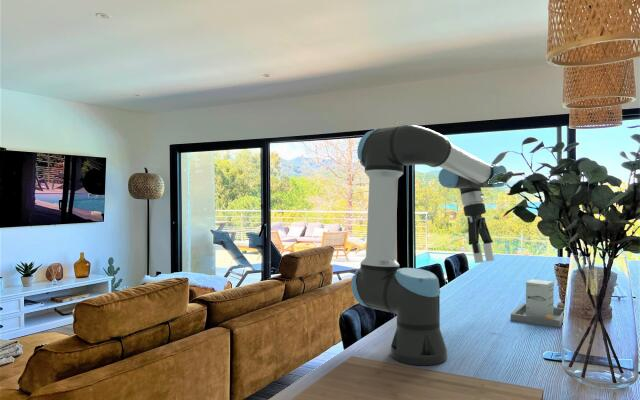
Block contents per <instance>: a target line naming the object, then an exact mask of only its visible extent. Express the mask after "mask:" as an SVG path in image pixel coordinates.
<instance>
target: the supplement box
mask: <svg viewBox="0 0 640 400" xmlns="http://www.w3.org/2000/svg"><path fill="white" fill-rule="evenodd" d="M554 283H555V282H554V281H549V280H543V279H542V280H541V279H533V278H532V279H531V278H530V279H529V280H527V281H526V282H525V304H526V315H528V316H535V317H542V318H545V316H546V315H548V314H550V315H552V316H553V308H554V307H555V306H554V299H555V298H554V296H555V295H554V285H555V284H554Z"/></svg>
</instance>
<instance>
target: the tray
mask: <svg viewBox="0 0 640 400" xmlns="http://www.w3.org/2000/svg"><path fill="white" fill-rule="evenodd" d="M563 313H564V307H556V306H554V308H553V317H554V319H550V318H542V317H535V316H528V315H526V303H522V304H521V305H519V306H518V307H517V308H516V309H514V311H512V312H511V313H510V321H513V322H518V323H526V324H531V325H539V326H544V327H545V326H547V327H551V328H552V327H553V328H561V326H562V325H563V324H562V321H563Z"/></svg>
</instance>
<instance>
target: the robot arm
mask: <svg viewBox="0 0 640 400" xmlns="http://www.w3.org/2000/svg"><path fill="white" fill-rule="evenodd" d="M356 153H357V159H358V160H359V163H360V165H361V166H362V167H363V168H364V173H365V174H366V176H367V177H368V181H369V182H368V200H367V202H368V204H367V205H368V206H367V225H366V226H367V227H366V248H365V258H364V259H363V260H362V261H361V262H360V267H358V269H356V271H355V272H354V274H353V276H352V277H351V292H352V295H353V297H354V299H355V300H356V301H357V303H359V305H361V306H363V307H366V308H369V309H370V310H379V311H382V312H387V313H391V314H396V328H395V331H394V334H393V338H392V341H391V345H390V356H391V358H393V359H394V360H396V361H397V362H400V363H403V364H407V365H414V366H433V365H438V364H442V363H443V362H445V361H446V360H447V359H448V349H447V345H446V343H445V341H444V340H445V339H444V338H443V334H442V332H441V325H440V324H441V323H440V321H441V319H440V318H441V316H440V315H441V314H440V313H441V312H440V311H441V310H440V307H441V305H440V304H441V303H440V302H441V301H440V299H441V298H440V294H441V289H440V283H439V282H440V281H439V278H438V277H437V275H436V274H435V273H433V272H431V271H429V270H427V269H426V270H425V269H422V268H413V267H402V268H401V267H400V264H399V262H398V261H397V260H396V238H397V209H398V188H399V178H400V177H402V176H403V175H404V166H415V165H423V166H424V165H425V166H429V167H431V168H438V167H439V168H441V170H440V171H439V173H438V181H439V184H440V185H441V186H442V187H443V188H445V189H446V188H447V189H459V193H460V198H461V202H462V203H461V204H462V206H463V213H464V216H465V217H466V218H467V219H466V220H467V228H468V230H467V231H468V245H469V246H470V245H471V248H472V252H473V253H472V254H473V258H474V263H475V264H478V263H484V258H483V257H485V262H492V261H495V258H494V253H493V248H492V243H494V240H493V239H492V236H491V234H490V230H489V228H488V226H487V222H486V218H485V217H484V216H483V217H482V215H484V214H486V213H487V210H486V205H485V203H484V195H485V194H484V193H483V192H482V188H493V189H494V188H502V187H504V186H505V185H506V183H505V184H504V183H497V184H488V181H489V179H491V178H492V177H493V176H494V175H495V174H498V173H500V172H503V173H506V172H507V171H508V170H507V168H506V167H505V165H503V164H496V165H495V164H493V165H494V166H491V165H492V164H489V163H487V162H485V161H484V160H482V159H480V158H478V157H476V156H475V155H473V154H470V153H469V152H467V151H465V150H463V149H461V148H459V147H458V146H455V145H454V144H453V143H452V142H451V140H450V139H449V138H448V137H446V136H445V135H443V134H441V133H440V132H437V131H435V130H432V129H430V128H428V127H427V128H426V127H424V126H420V125H416V124H403V125H398V126H397V125H396V126H390V127H383V128H381V127H380V128H376V129H374V130H370V131H367V132H366V133H365V134H364V135H363V136H362V137H361V138H360V139H359V142H358V145H357V152H356ZM507 173H508V172H507ZM480 238H481V241H482V242H483V244H482V246H483V250H484V251H482V247H481V243H480V241H479V240H480ZM482 252H484V256H483V253H482Z"/></svg>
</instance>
